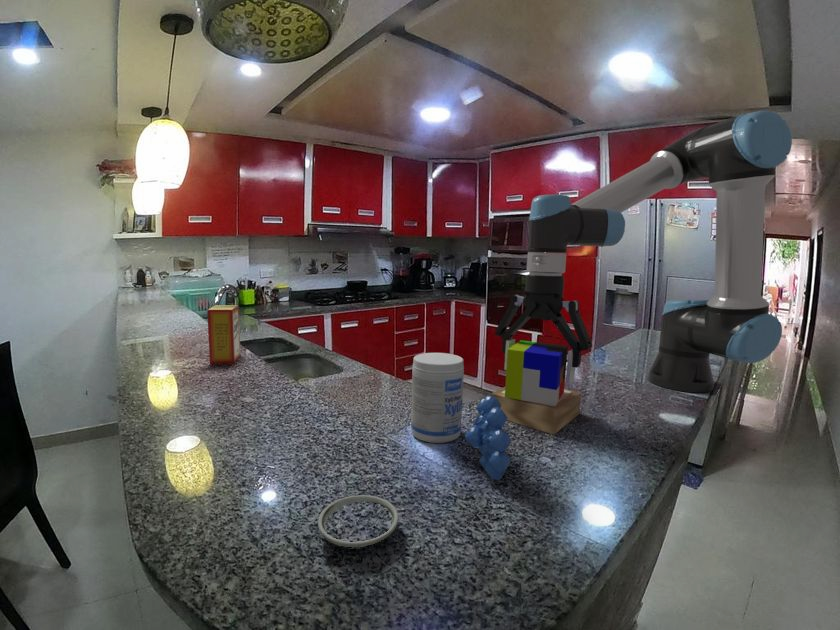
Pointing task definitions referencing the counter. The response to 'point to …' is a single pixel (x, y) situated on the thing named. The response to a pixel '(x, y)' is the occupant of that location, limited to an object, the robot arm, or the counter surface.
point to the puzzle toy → (536, 372)
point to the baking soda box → (223, 333)
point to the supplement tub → (437, 397)
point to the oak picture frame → (540, 411)
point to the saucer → (350, 500)
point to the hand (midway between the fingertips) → (537, 375)
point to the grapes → (490, 437)
